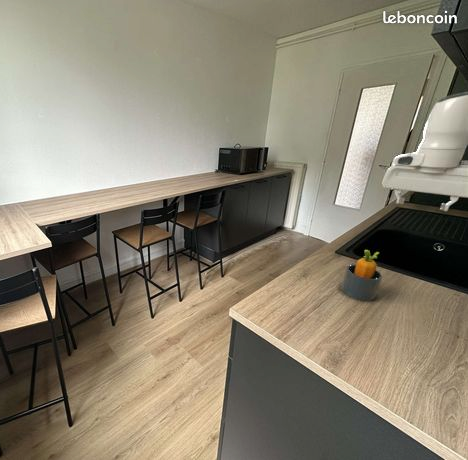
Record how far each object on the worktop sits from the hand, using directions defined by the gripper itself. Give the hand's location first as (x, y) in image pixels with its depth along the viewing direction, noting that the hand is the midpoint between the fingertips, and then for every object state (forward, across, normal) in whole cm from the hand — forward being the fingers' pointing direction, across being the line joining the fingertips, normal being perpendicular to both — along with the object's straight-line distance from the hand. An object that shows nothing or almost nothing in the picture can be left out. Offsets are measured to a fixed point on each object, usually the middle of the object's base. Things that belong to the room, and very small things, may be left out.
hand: (420, 206), depth 74 cm
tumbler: (+28, +6, +12) cm, 31 cm away
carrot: (+28, +6, +12) cm, 31 cm away
